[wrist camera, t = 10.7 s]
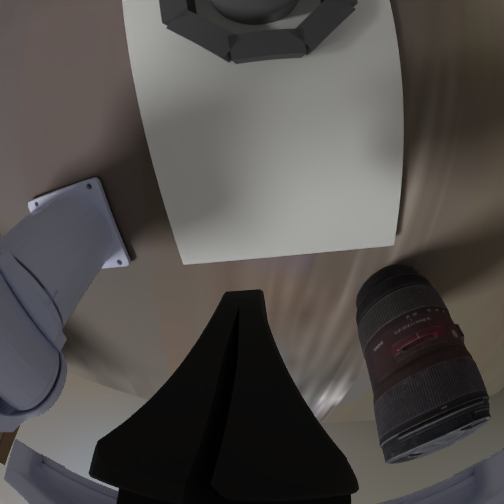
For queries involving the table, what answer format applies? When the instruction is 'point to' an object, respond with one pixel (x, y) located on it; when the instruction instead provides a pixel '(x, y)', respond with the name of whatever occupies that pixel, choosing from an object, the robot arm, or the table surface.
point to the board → (271, 125)
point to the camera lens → (417, 366)
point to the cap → (254, 10)
